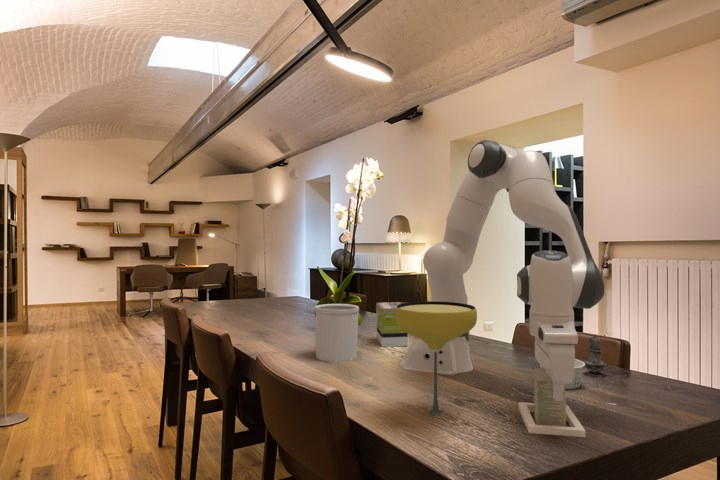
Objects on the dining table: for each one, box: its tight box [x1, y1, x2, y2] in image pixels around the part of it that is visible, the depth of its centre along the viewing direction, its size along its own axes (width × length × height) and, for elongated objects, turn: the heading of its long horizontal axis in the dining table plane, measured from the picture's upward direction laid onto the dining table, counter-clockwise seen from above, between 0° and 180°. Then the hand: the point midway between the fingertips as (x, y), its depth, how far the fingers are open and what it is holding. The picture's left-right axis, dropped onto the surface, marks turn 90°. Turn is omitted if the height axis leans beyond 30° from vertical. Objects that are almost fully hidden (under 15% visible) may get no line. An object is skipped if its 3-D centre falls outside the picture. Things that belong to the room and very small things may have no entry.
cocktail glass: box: [395, 300, 478, 415], centre depth 107 cm, size 18×18×25 cm
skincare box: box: [532, 366, 567, 427], centre depth 101 cm, size 6×4×12 cm
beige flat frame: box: [518, 401, 587, 438], centre depth 101 cm, size 11×14×2 cm
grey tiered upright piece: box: [583, 333, 607, 378], centre depth 140 cm, size 6×6×12 cm
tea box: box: [375, 301, 409, 348], centre depth 183 cm, size 15×10×15 cm
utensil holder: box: [314, 303, 360, 363], centre depth 159 cm, size 15×15×18 cm
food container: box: [539, 358, 586, 390], centre depth 130 cm, size 12×12×7 cm
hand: (552, 392), depth 101 cm, fingers open, 8 cm apart
